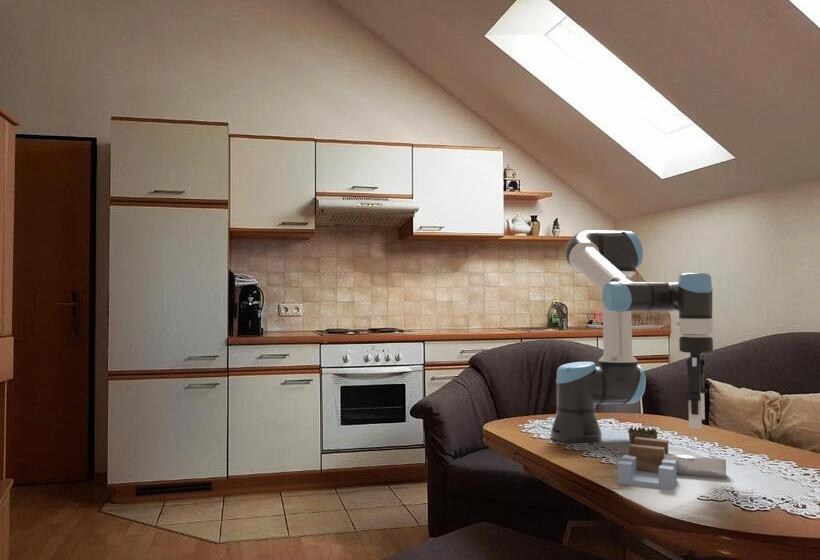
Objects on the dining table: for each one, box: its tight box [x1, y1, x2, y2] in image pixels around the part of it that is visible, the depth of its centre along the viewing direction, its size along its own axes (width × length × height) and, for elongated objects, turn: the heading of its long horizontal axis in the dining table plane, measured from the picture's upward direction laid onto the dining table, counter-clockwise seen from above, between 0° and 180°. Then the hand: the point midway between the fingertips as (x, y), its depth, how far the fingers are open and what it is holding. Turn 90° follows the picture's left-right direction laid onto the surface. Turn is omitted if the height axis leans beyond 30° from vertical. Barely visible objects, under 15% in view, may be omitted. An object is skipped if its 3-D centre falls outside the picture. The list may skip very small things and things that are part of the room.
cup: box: [627, 426, 659, 445], centre depth 177 cm, size 8×7×8 cm
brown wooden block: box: [628, 437, 669, 473], centre depth 166 cm, size 12×8×7 cm
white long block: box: [665, 453, 727, 480], centre depth 161 cm, size 5×16×5 cm, turn 65°
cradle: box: [617, 454, 678, 491], centre depth 155 cm, size 9×12×5 cm
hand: (697, 423), depth 161 cm, fingers open, 13 cm apart
